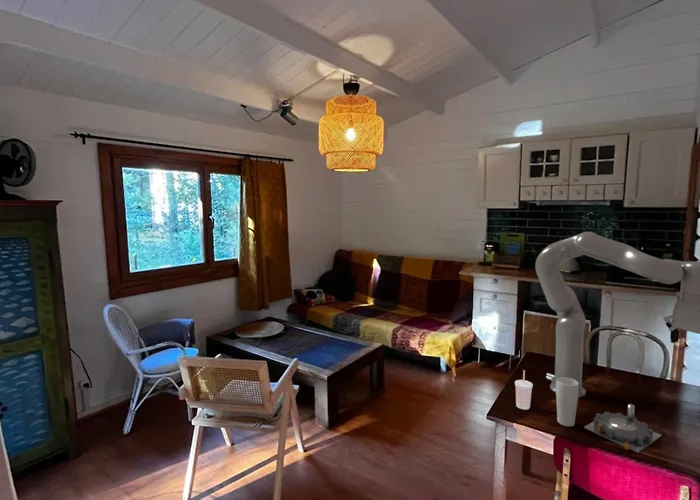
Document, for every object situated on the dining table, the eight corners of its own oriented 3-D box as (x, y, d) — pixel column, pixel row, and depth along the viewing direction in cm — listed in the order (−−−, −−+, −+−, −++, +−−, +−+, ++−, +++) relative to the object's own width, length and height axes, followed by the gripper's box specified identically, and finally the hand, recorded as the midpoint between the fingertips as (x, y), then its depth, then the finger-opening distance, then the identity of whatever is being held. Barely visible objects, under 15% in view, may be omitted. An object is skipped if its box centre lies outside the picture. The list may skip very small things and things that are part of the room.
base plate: (580, 429, 131) (580, 425, 130) (608, 414, 140) (608, 410, 140) (635, 455, 117) (635, 450, 117) (661, 436, 126) (662, 432, 126)
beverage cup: (513, 408, 145) (514, 371, 144) (515, 401, 151) (516, 366, 149) (531, 412, 142) (532, 375, 141) (532, 404, 148) (533, 368, 146)
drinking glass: (550, 418, 138) (552, 377, 136) (568, 417, 138) (570, 376, 137) (562, 429, 131) (564, 386, 130) (581, 427, 132) (583, 385, 130)
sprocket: (584, 426, 132) (585, 406, 131) (608, 412, 140) (609, 394, 139) (638, 450, 118) (639, 428, 117) (661, 434, 126) (662, 413, 126)
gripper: (659, 293, 140) (655, 340, 142) (718, 304, 124) (713, 357, 126) (673, 292, 143) (669, 337, 144) (732, 302, 126) (728, 353, 128)
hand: (690, 346), depth 135 cm, fingers open, 9 cm apart
